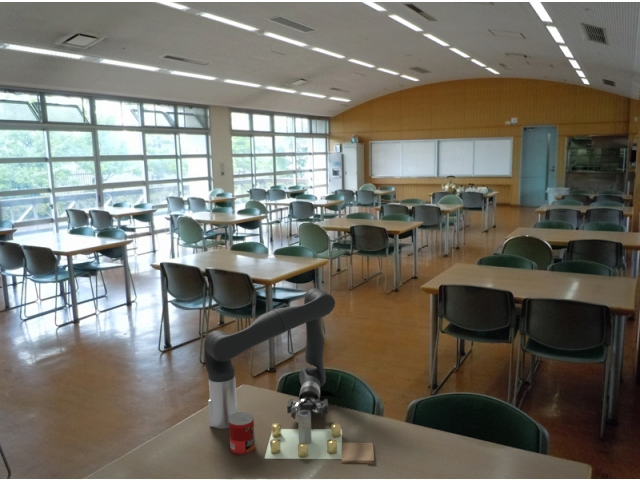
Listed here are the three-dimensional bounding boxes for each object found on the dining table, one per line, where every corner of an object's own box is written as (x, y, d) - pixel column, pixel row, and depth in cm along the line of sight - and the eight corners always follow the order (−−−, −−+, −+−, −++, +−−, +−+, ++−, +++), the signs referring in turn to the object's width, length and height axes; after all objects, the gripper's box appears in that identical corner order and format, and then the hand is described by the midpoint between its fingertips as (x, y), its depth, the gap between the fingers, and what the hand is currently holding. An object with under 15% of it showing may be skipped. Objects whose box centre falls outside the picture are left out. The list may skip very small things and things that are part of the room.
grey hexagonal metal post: (298, 445, 171) (297, 416, 170) (299, 437, 176) (298, 409, 174) (310, 445, 171) (310, 416, 170) (311, 437, 176) (311, 409, 174)
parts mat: (264, 459, 164) (264, 458, 164) (272, 430, 182) (272, 429, 182) (341, 460, 163) (341, 458, 163) (342, 430, 181) (342, 429, 181)
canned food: (250, 456, 166) (249, 424, 165) (226, 454, 168) (224, 422, 166) (258, 443, 174) (256, 412, 172) (235, 441, 175) (233, 410, 174)
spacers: (265, 457, 165) (265, 447, 164) (272, 432, 180) (272, 423, 179) (340, 458, 163) (339, 447, 163) (340, 432, 178) (340, 423, 178)
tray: (341, 463, 161) (341, 460, 161) (341, 446, 171) (341, 442, 171) (374, 464, 160) (374, 460, 160) (372, 446, 170) (372, 442, 170)
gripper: (290, 385, 195) (285, 405, 179) (328, 385, 194) (327, 405, 178) (290, 404, 196) (285, 426, 180) (329, 404, 195) (327, 426, 179)
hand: (306, 416), depth 179 cm, fingers open, 8 cm apart
